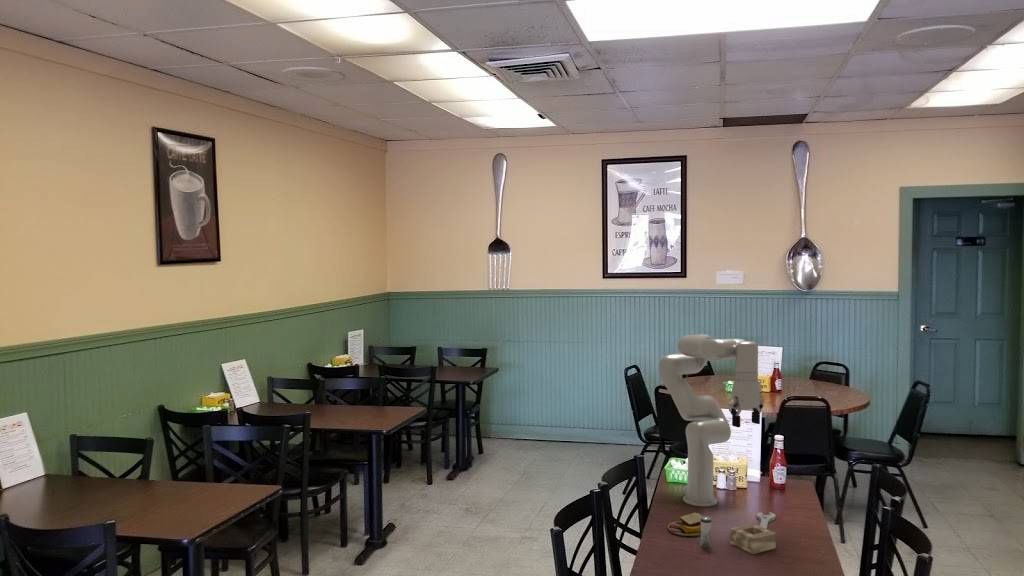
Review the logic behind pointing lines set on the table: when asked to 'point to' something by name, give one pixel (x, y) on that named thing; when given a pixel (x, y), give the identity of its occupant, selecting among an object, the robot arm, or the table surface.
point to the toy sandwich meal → (687, 525)
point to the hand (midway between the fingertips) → (746, 424)
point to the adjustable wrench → (765, 519)
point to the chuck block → (753, 538)
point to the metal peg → (705, 532)
